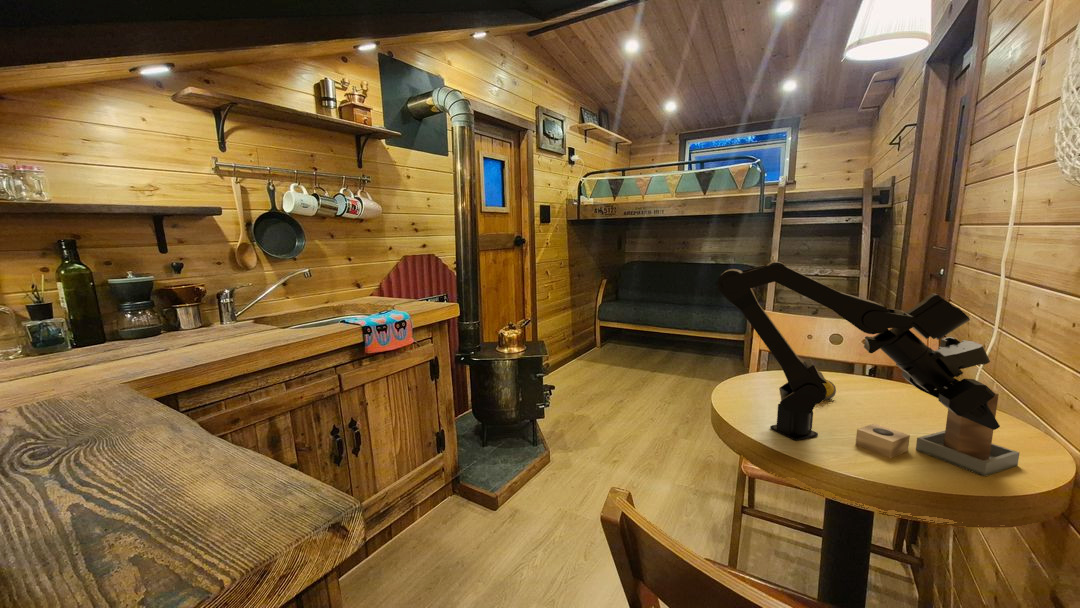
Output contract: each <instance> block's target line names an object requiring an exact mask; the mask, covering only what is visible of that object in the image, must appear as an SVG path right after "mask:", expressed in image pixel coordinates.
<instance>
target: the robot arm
mask: <svg viewBox="0 0 1080 608" xmlns="http://www.w3.org/2000/svg"><path fill="white" fill-rule="evenodd" d="M770 283H777V284H779V285H781V286H783V287H785V288H787V289H790V290H791V291H793V292H795V293H797V294H800V295H802V296H804V297H806V298H808V299H810V300H812V301H814V302H816V303H818V304H820V305H822V306H824V307H826V308H827V309H830V310H831V311H833V312H835V313H836V314H837V315H839V316H840V317H841V318H843V319H844V320H845V321H847V322H848V323H850V324H851V325H852V326H854V327H855V328H857V329H858V330H859V331H862V332H863V333H864V334H868V335H873V336H865V337H864V340H865V342H864V344H863V348H864V350H866V351H867V352H868V354H874V353H875V352H877V351H879V350H880V351H882V352H883V353H884V354H886V355H885V356H888V357H889V358H890V360H892V361H893V362H894V363H895V365H896V366H897V367H898V368H899V369H900V370H902V373H901V376H902V378H904V379H905V380H906V381H907V382H908V383H910V384H911V385H913V387H915V388H917V389H918V390H919V391H921V392H924V393H926V394H928V395H930V396H932V397H934V398H937V399H938V402H939V403H940V404H942V405H943V406H944V407H945V409H946V408H947V410H948V409H949V410H950V411H952V412H953V413H955V414H956V415H958V416H961V417H964V418H966V419H969V420H971V421H974V422H976V423H978V424H981V425H983V426H985V427H988V428H990V429H992V430H993V431H995V430H997V429H999V428H1000V427H1001V425H1000V424H999V422H998V420H997V418H996V416H995V417H994V415H993V414H992V412H991V410H990V408H989V407H988V404H987V403H988V401H990V400H991V399H992V398H993V397H994V396H995V393H994V392H995V391H994V392H993V390H992V389H991V388H990V387H988V386H987V384H984V383H982V382H980V381H978V380H976V379H975V378H962V379H961V380H958V379H957V378H959V376H961V375H963V374H964V371H962V370H963V369H968V368H971V367H976V366H980V365H982V366H983V365H987V364H990V362H991V360H990V358H989V356H988V354H987V352H986V350H985V347H984V346H983V344H980V343H978V342H976V341H972V340H965V339H964V340H963V339H962V340H961V341H959V339H956V338H954V337H953V336H947V335H948V334H950V333H951V332H953V331H955V330H956V329H958V328H959V327H961V326H963V325H964V324H966V323H968V322H969V321H971V318H970V317H969V316H968V315H967V314H966V313H965V312H964V311H963V310H961V308H959V307H957V306H954V305H953V304H952V303H951V302H949V301H948V300H945V299H944V298H942V296H940V295H939V294H938V293H937V294H936V293H935V292H934V293H930V294H929V295H928V296H926V297H924V299H923V300H922V301H920V302H919V303H917V304H916V305H914V306H913V307H911V308H910V309H908V310H907V311H903V310H900V309H898V308H896V309H894V308H893V309H892V308H887V307H885V306H883V305H882V304H880V303H878V302H875V301H873V300H869V299H868V298H867V299H866V298H863V297H859V296H856V295H852V294H848V293H845V292H842V291H839V290H837V289H834V288H832V287H830V286H828V285H826V284H824V283H821V282H820V281H817V280H815V279H814V278H811V277H809V276H807V275H804V274H802V273H800V272H799V271H796V270H794V269H792V268H790V267H789V266H786V265H785V264H784V263H782V262H780V261H772V262H769V263H768V264H764V265H760V266H754V267H751V268H748V269H747V268H746V269H744V270H740V269H736V268H731V269H730V268H729V269H727V270H725V271H724V272H723V273H721V275H720V276H719V277H718V279H717V282H716V285H717V286H716V287H717V290H718V292H719V293H720V295H722V296H723V297H724V298H725V299H726V300H727V301H728V302H729V303H731V305H732V306H734V307H735V308H736V309H737V310H739V311H740V312H741V313H742V314H743V315H744V317H745V318H746V320H747V321H748V322H749V324H750V326H751V327H752V329H754V331H755V332H756V334H757V335H758V336H759V337H760V339H761V340H762V342H763V344H764V345H765V346H766V348H767V349H768V350H769V352H770V353H771V355H773V357H774V358H775V360H776V362H778V364H779V365H780V367H781V369H782V371H783V373H784V376H785V379H786V380H787V382H786V383H785V384H782V385H781V386H779V388H778V389H779V395H780V402H779V403H778V404H777V418H776V424H772V425H770V427H769V429H771V430H772V431H775V432H777V433H779V434H781V435H783V436H785V437H787V438H790V439H791V440H793V441H800V440H806V439H810V438H814V437H818V436H819V433H818V431H817V432H816V431H814V430H812V429H813V419H814V409H815V407H816V405H818V404H820V403H823V401H824V399H825V397H826V394H827V390H826V388H825V386H824V384H823V383H827V382H826V380H827V379H826V378H825V376H824V374H823V373H822V372H821V371H820V370H818V369H817V367H816V366H815V364H814V362H813V360H812V358H807V359H806V360H805V361H804V359H803V358H801V357H800V356H799V355H797V353H796V352H795V350H793V348H792V347H791V345H790V344H789V343H788V341H787V340H786V338H785V336H783V334H782V333H781V332H780V330H779V329H778V327H777V326H776V325H775V323H774V322H773V320H772V319H771V318H770V316H769V315H768V313H767V312H766V311H765V309H764V308H763V307H762V306H761V304H760V302H758V299H757V297H756V294H755V293H754V290H753V288H757V287H760V286H764V285H767V284H770ZM911 329H913V330H914V331H915V332H916V333H918V334H919V335H920V336H921V337H922V338H924V339H925V340H928V339H929V338H931V339H932V340H935V339H936V340H937V341H938V340H940V339H941V340H940V344H939V345H940V346H939V347H938V349H936V350H933V348H931V347H929V345H927V344H926V343H925V342H924V341H922V340H921V339H920V338H919V337H918V336H917V335H916V334H915V333H913V332H912V331H911ZM944 336H947V337H944ZM825 379H826V380H825ZM951 383H952V384H951ZM953 384H954V385H953Z"/></svg>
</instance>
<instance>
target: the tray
mask: <svg viewBox="0 0 1080 608" xmlns="http://www.w3.org/2000/svg"><path fill="white" fill-rule="evenodd" d="M944 437H945V430H942V431H938V432H935V433H934V432H933V433H930V434H926V435H923V436H919V437H917V438H916V443H915V444H916V445H915V450H916V451H918V452H920V453H922V454H925V455H928V456H930V457H933V458H935V459H938V460H941V461H943V462H945V463H949V464H951V465H952V466H953V465H954V466H956V467H959V468H961V469H963V468H964V470H966V469H967V470H966V471H968V470H970V471H969V472H971V471H973V472H972V473H974V472H975V473H974V474H976V473H978V474H977V475H979V474H980V475H979V476H981V475H983V476H982V477H984V476H985V477H987V476H986V475H988V476H990V474H991V475H994V474H996V473H999V472H1002V471H1003V472H1004V471H1005V470H1007V469H1011V468H1014V467H1016V466H1018V465H1019V459H1020V458H1019V457H1020V452H1019V451H1017V450H1013V449H1010V448H1007V447H1004V446H1002V445H998V444H995V443H992V444H991V450H990V457H989V459H988V460H985V461H983V460H980V459H977V458H975V457H972V456H969V455H966V454H964V453H961V452H958V451H955V450H953V449H950V448H947V447H944V446H943V445H944ZM993 473H994V474H993Z"/></svg>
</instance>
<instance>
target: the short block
mask: <svg viewBox="0 0 1080 608" xmlns="http://www.w3.org/2000/svg"><path fill="white" fill-rule="evenodd" d="M910 437H911V435H910V434H908V433H904V432H901V431H899V430H896V429H893V428H890V427H887V426H883V425H880V424H878V423H875V422H874V423H871V424H868V425H865V426H863V427H859V428H857V429H856V437H855V445H856V446H859V447H861V448H864V449H867V450H869V451H871V452H874V453H876V454H878V455H882V456H883V457H886V458H889V459H892V458H895V457H897V456H900V455H901V454H904V453H906V452H908V451H909V446H910Z"/></svg>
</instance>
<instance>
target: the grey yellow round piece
mask: <svg viewBox="0 0 1080 608" xmlns="http://www.w3.org/2000/svg"><path fill="white" fill-rule="evenodd" d="M825 380H826V382H827V383H823V384H824V386H825V388H826V390H827V394H826V397H825V399H824V400H825V401H826V400H830V399H832V398H834V396H835V395H836V393H837V388H836V385H835V384H834V383H833V381H830V380H828V379H827V378H825ZM824 400H823V401H824Z"/></svg>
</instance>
